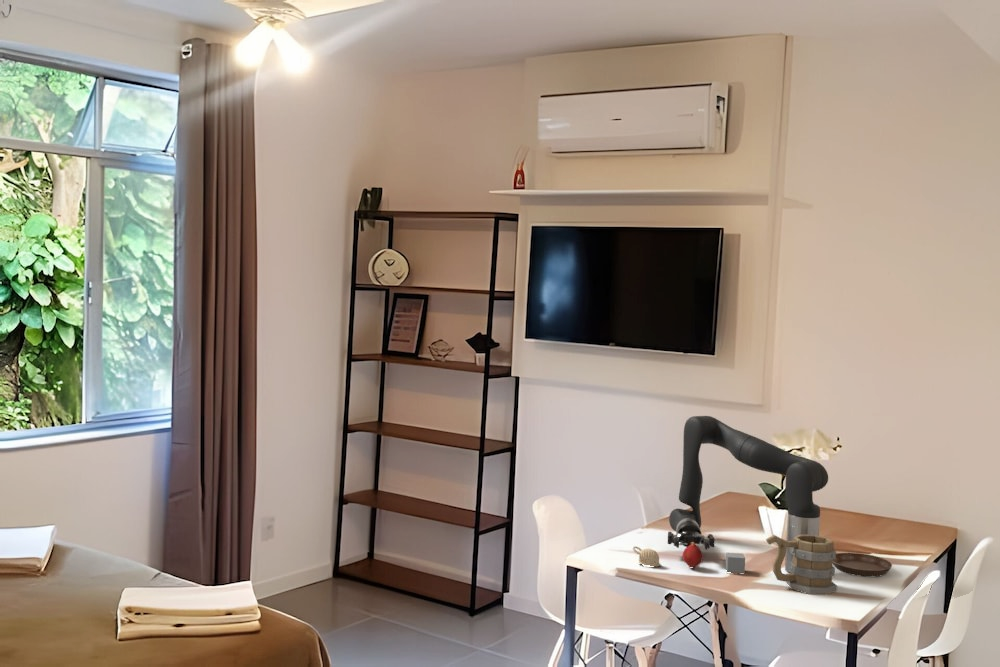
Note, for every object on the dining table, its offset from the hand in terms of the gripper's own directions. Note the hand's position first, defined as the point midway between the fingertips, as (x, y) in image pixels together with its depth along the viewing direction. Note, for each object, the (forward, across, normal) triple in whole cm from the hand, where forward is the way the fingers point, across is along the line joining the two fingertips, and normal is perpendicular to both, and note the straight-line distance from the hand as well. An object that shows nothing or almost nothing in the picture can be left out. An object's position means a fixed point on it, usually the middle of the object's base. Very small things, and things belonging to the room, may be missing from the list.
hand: (692, 545), depth 297 cm
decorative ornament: (+3, -13, +6) cm, 15 cm away
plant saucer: (-7, +51, +6) cm, 52 cm away
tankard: (+15, +29, +6) cm, 33 cm away
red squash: (+4, 0, +6) cm, 7 cm away
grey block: (+4, +12, +6) cm, 14 cm away
